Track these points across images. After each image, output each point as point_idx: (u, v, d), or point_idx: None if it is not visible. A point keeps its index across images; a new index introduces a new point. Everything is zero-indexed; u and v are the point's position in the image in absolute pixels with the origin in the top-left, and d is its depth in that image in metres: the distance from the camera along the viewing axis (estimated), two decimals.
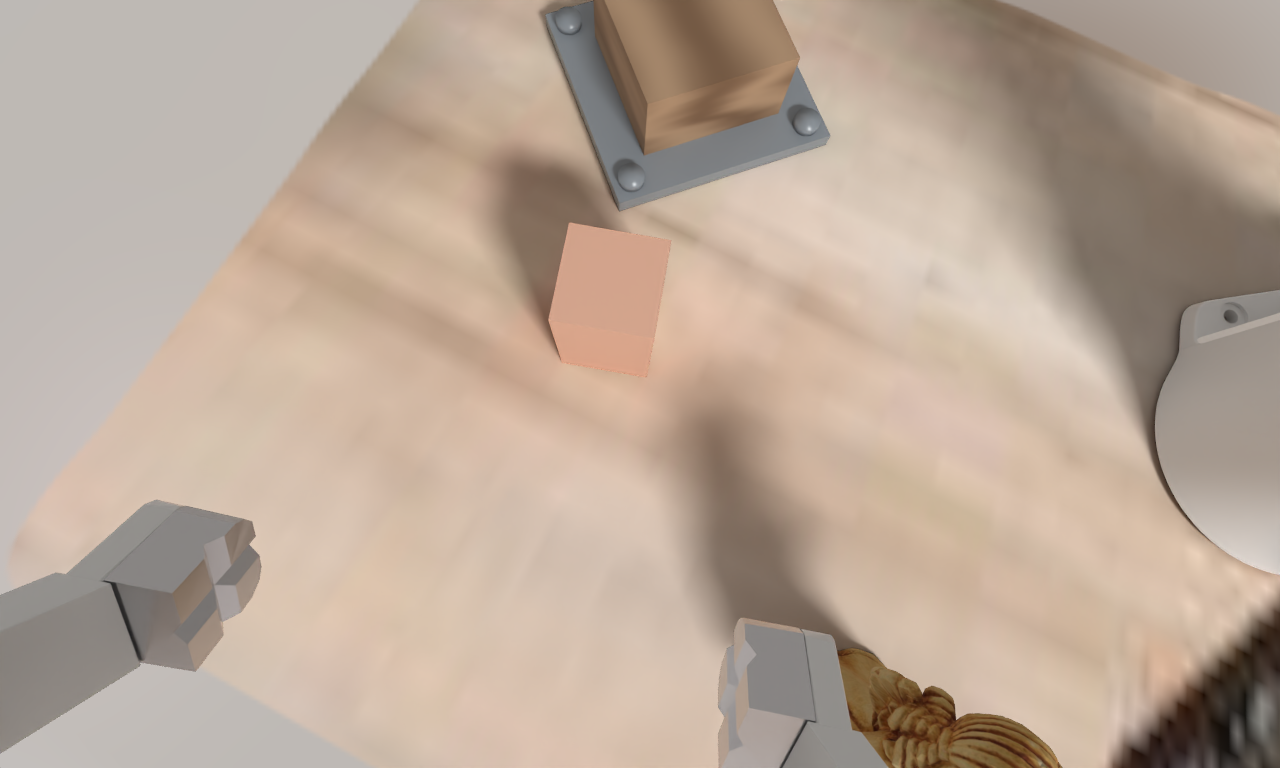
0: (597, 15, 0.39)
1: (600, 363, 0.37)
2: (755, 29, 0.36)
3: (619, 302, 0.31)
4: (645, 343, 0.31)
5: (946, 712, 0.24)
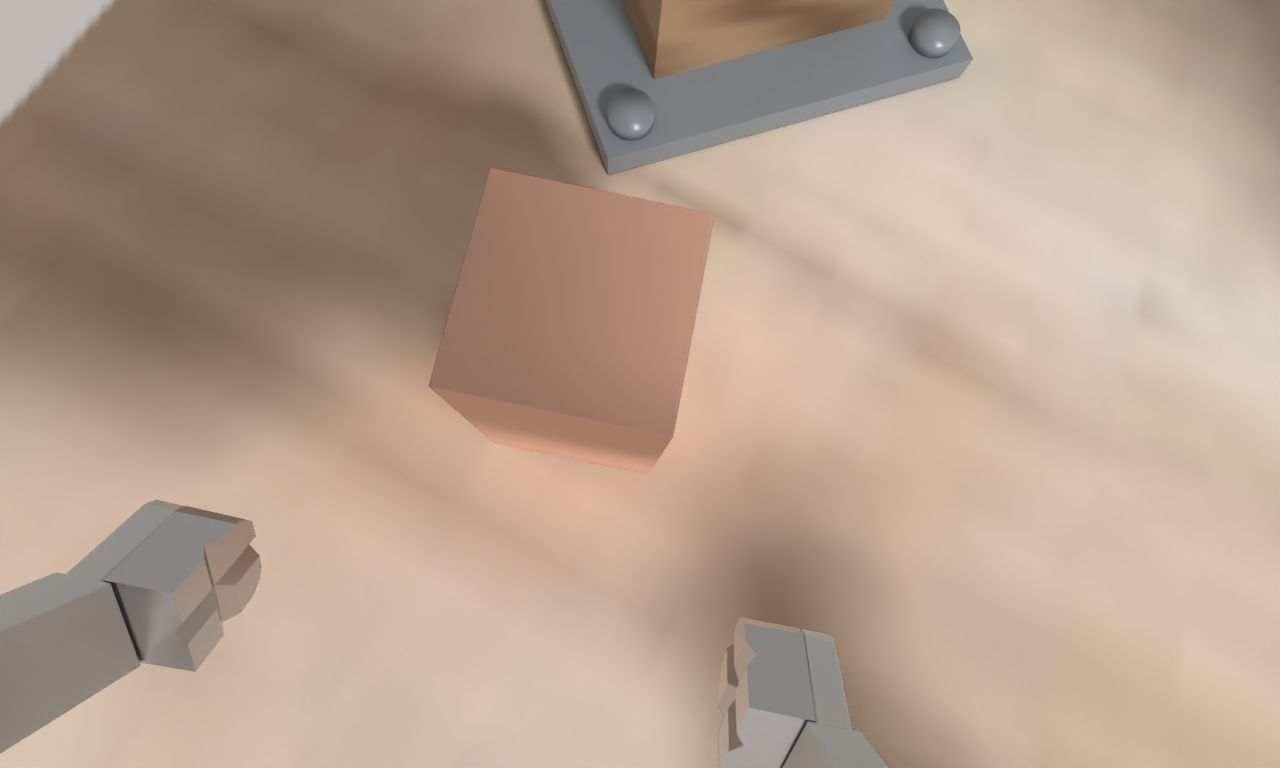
0: None
1: (562, 451, 0.19)
2: None
3: (594, 348, 0.13)
4: (651, 440, 0.14)
5: None
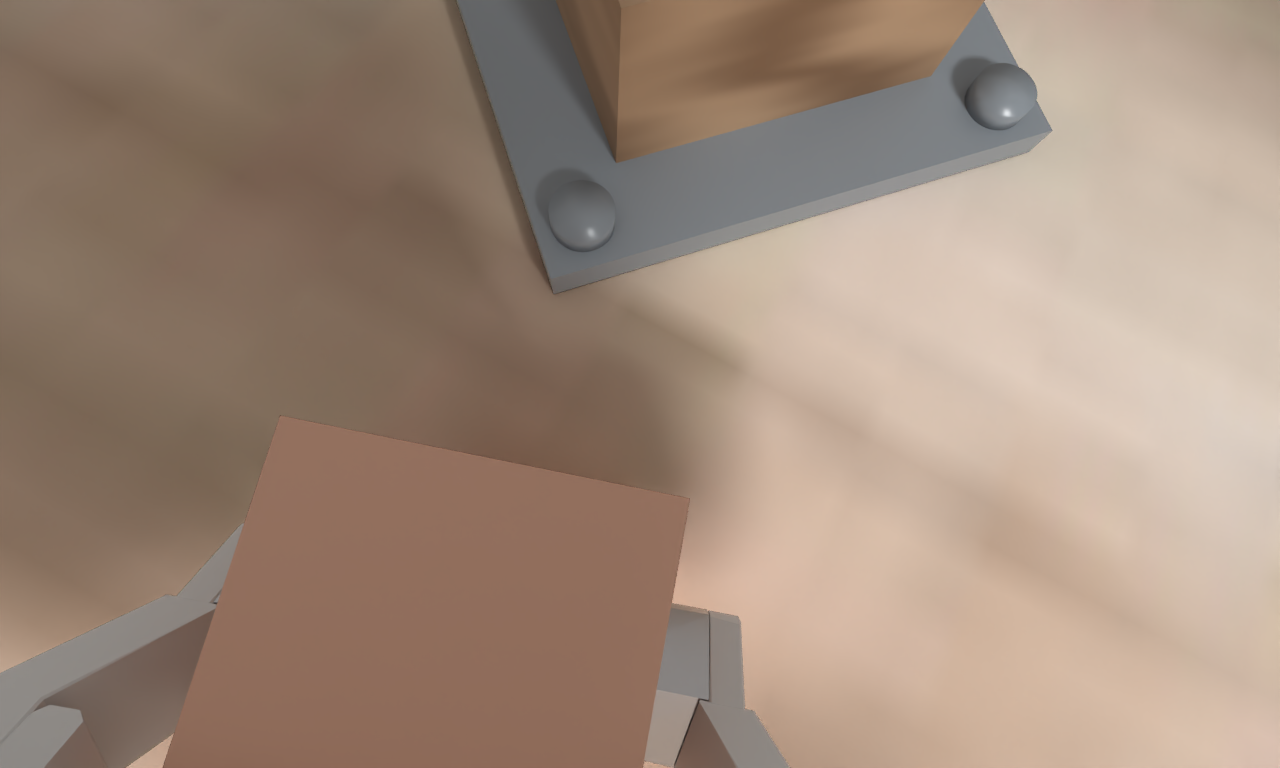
0: None
1: None
2: None
3: None
4: None
5: None
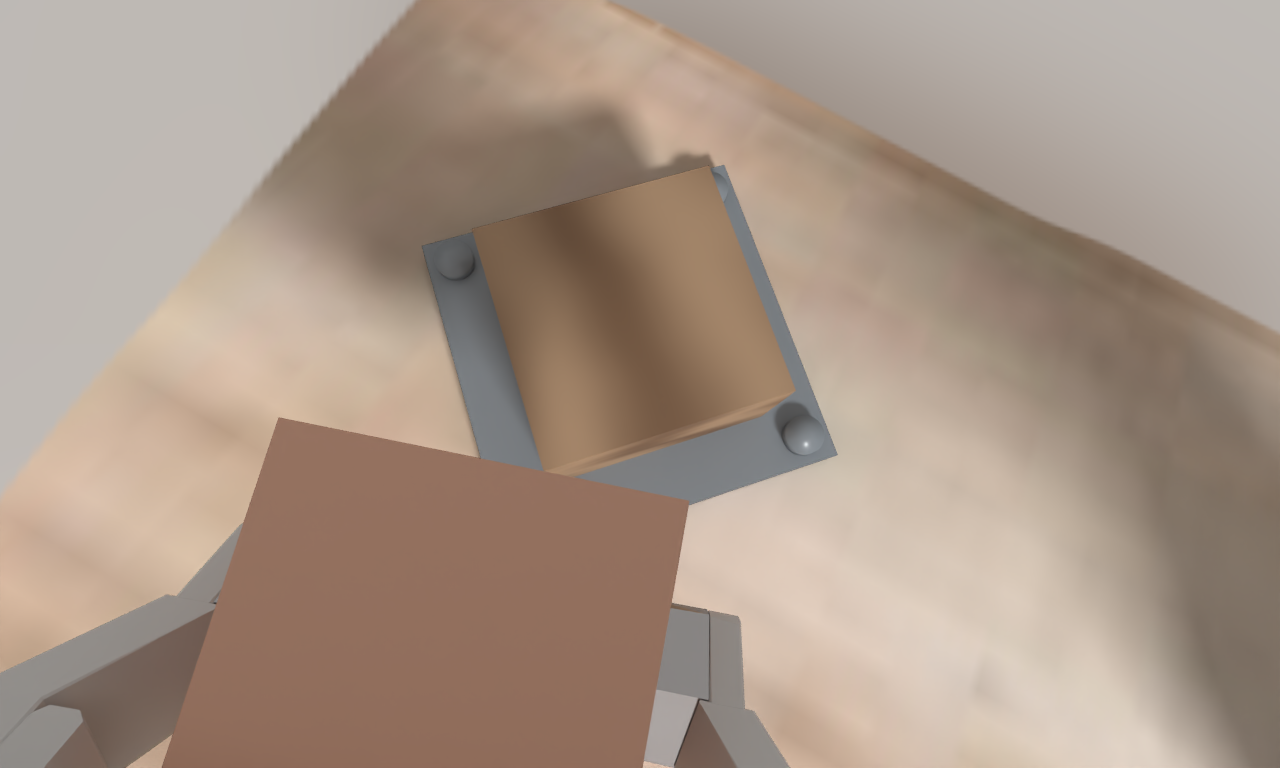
0: None
1: None
2: (727, 339, 0.23)
3: None
4: None
5: None
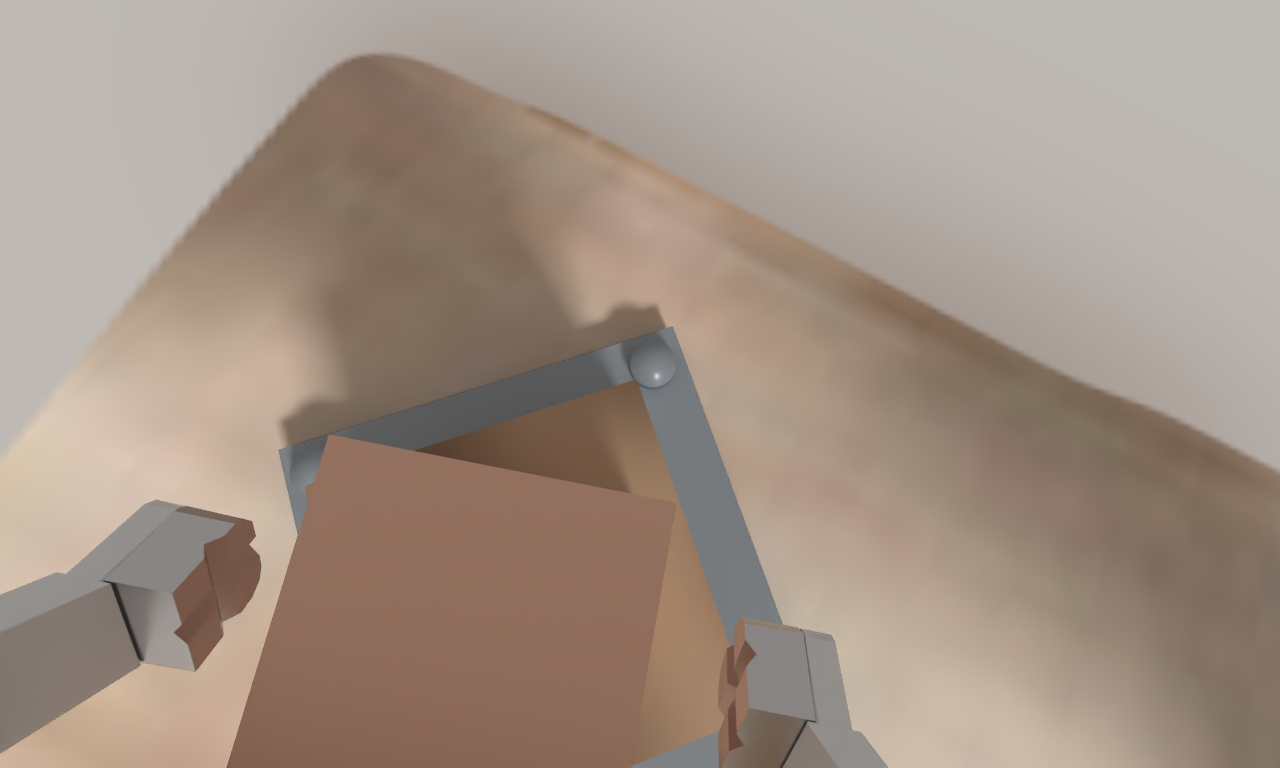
0: None
1: None
2: (659, 640, 0.16)
3: (482, 748, 0.08)
4: None
5: None
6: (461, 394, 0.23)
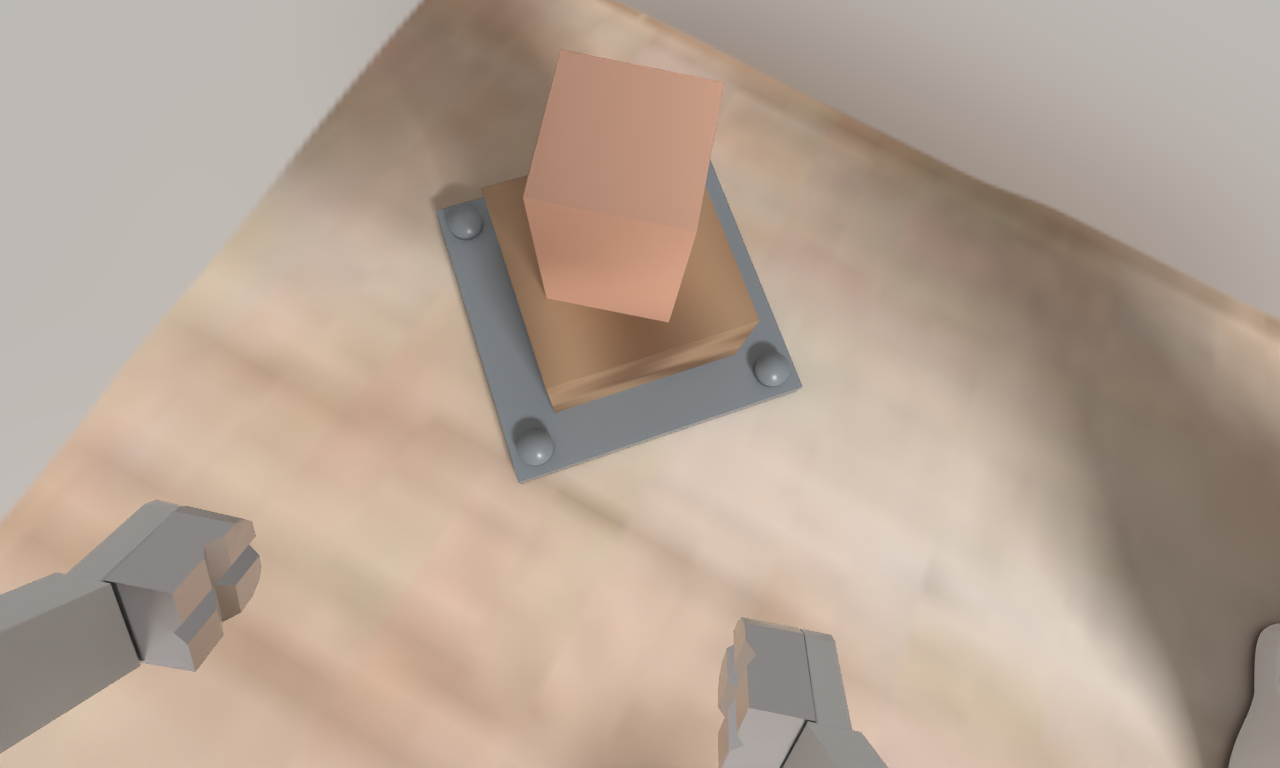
0: None
1: (603, 296, 0.25)
2: (700, 278, 0.27)
3: (639, 173, 0.19)
4: (679, 245, 0.20)
5: None
6: None
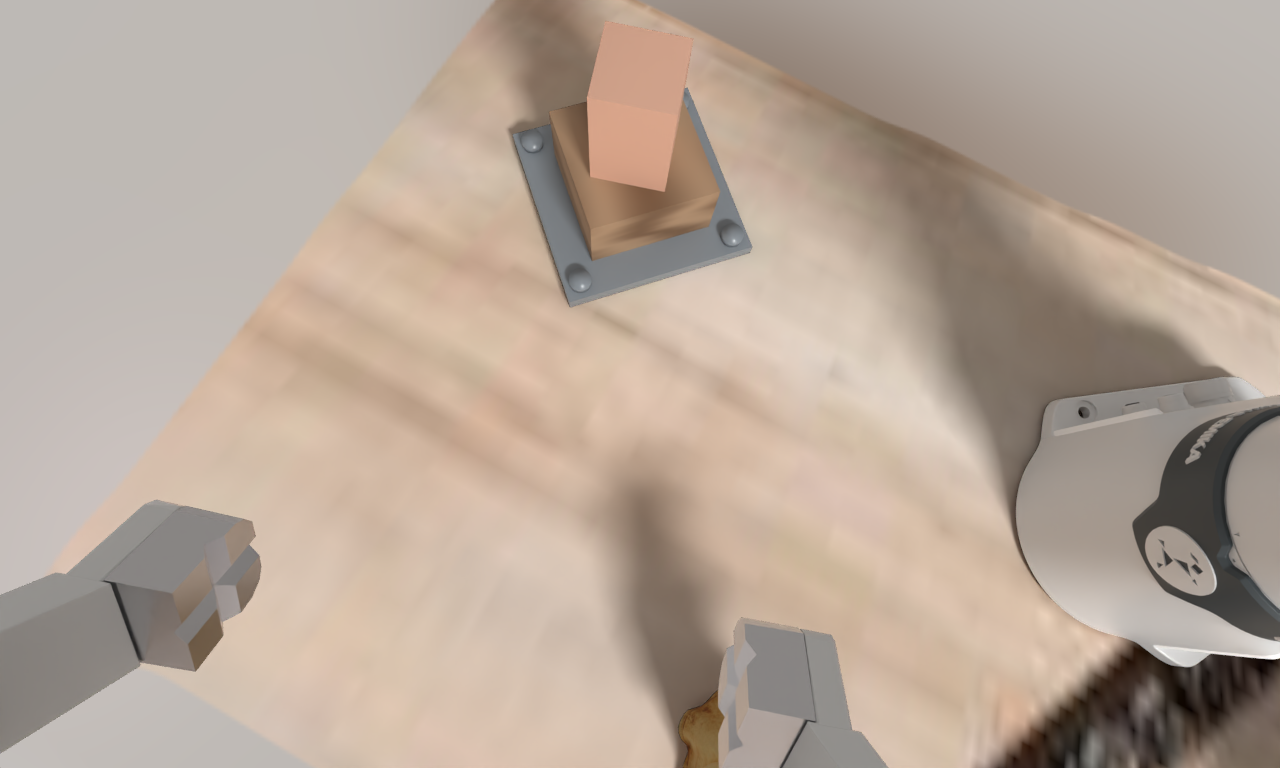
0: (554, 143, 0.46)
1: (625, 172, 0.42)
2: (684, 166, 0.44)
3: (647, 85, 0.36)
4: (669, 126, 0.36)
5: None
6: None
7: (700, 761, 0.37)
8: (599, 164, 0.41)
